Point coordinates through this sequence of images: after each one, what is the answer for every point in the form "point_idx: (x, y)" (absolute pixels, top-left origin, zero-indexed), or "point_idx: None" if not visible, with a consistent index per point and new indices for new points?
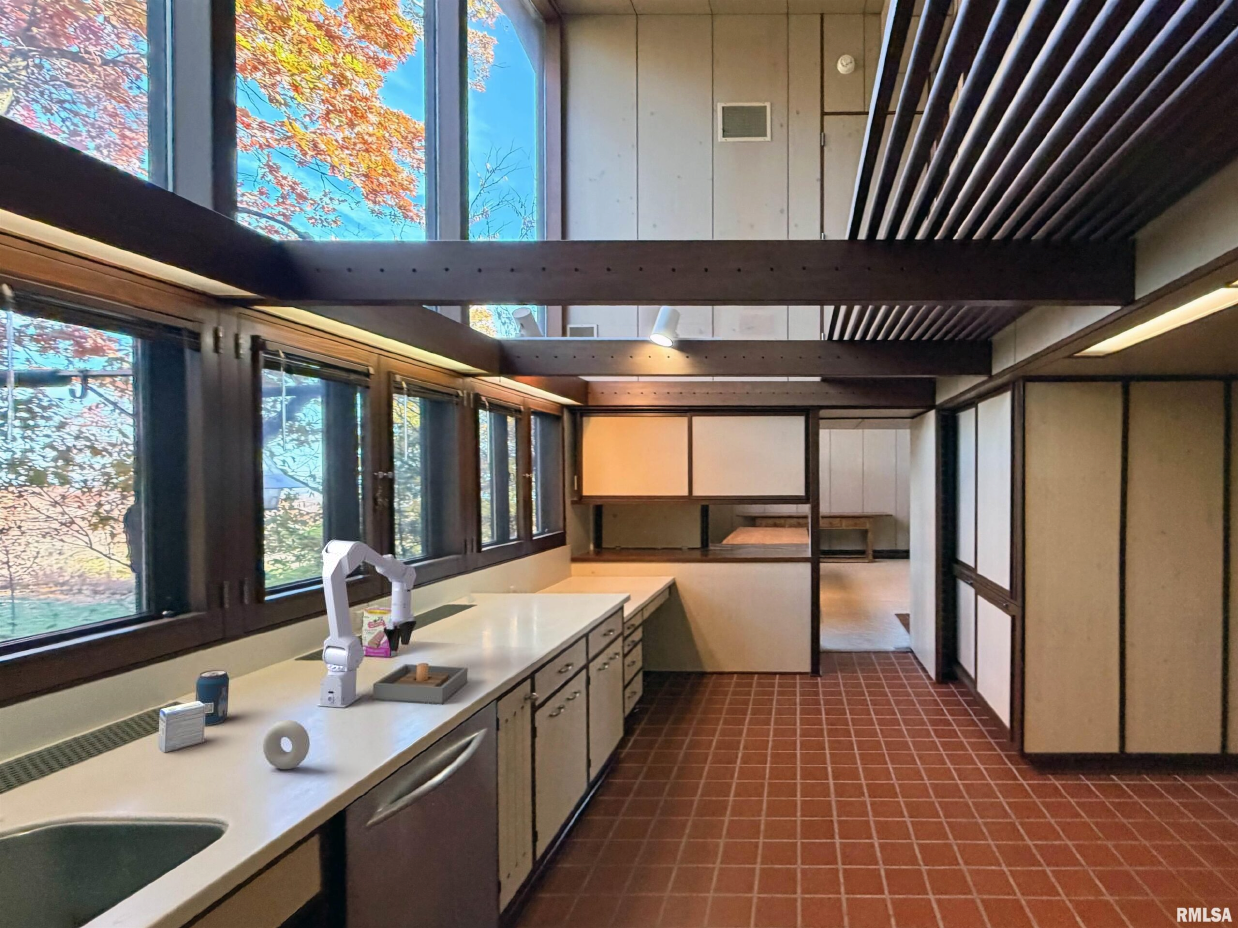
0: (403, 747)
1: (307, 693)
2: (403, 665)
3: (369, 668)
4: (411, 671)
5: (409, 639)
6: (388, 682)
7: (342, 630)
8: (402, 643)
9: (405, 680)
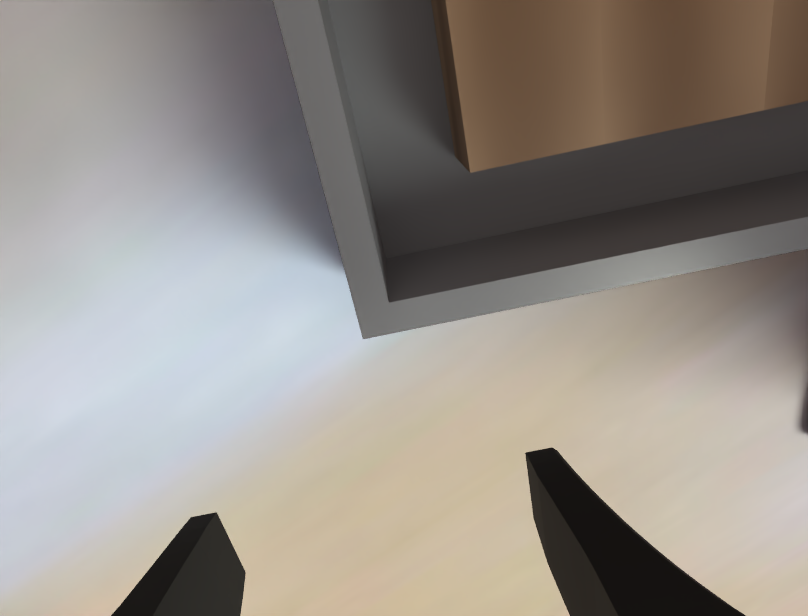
0: None
1: (785, 562)
2: (414, 322)
3: (280, 592)
4: (376, 233)
5: (169, 567)
6: (757, 204)
7: None
8: (237, 578)
9: (790, 23)
